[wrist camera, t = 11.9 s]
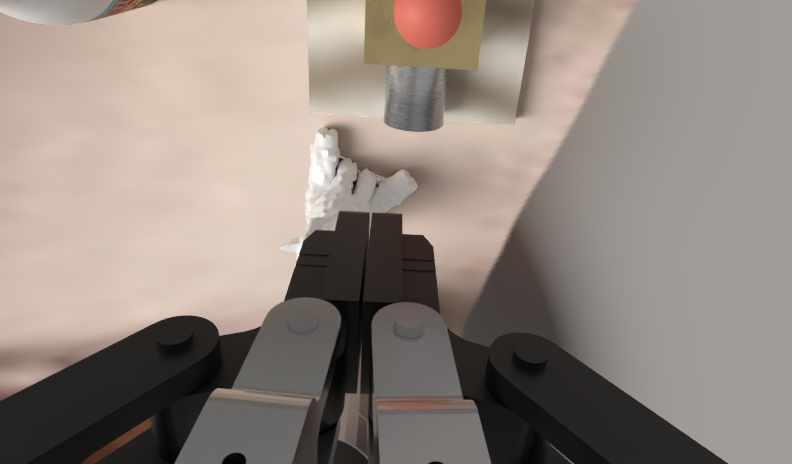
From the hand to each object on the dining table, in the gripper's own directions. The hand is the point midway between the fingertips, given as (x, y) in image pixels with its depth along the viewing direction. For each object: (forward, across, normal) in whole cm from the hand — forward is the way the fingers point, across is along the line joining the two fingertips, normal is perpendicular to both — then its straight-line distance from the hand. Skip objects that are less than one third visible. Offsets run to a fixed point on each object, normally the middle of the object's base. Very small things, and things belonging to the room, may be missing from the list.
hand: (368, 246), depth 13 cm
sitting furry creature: (+31, +3, +13) cm, 34 cm away
